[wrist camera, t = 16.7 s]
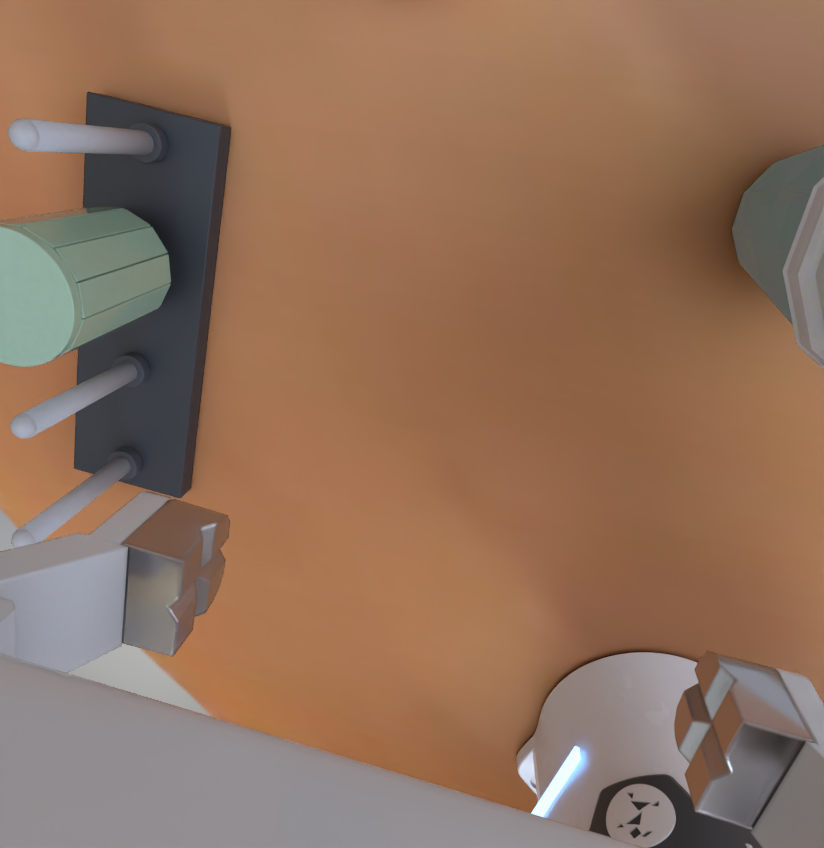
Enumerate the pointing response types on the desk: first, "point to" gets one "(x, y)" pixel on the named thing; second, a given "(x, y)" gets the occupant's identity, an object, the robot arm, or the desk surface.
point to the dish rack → (155, 332)
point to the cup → (75, 280)
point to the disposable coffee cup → (788, 243)
